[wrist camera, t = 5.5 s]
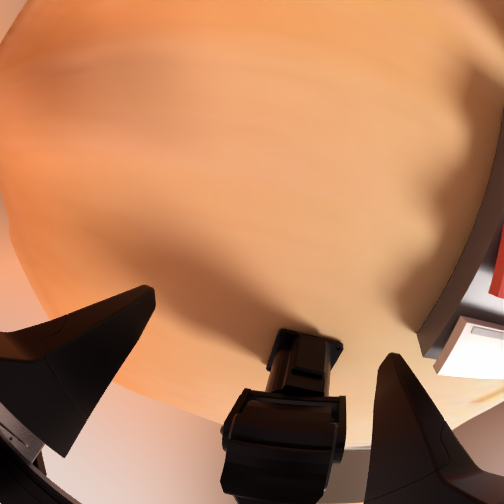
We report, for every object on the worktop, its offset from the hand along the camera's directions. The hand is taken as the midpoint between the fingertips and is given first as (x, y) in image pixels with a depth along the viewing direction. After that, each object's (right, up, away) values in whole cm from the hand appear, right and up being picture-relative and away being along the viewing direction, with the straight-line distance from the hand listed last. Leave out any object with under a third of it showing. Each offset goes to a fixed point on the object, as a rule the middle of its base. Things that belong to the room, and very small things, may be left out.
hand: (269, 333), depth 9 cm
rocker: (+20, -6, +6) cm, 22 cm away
